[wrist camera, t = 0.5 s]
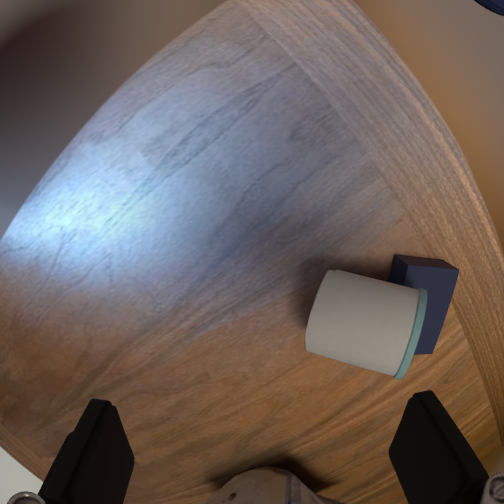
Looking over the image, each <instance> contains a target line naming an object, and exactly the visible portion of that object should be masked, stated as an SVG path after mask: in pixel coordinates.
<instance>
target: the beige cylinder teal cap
mask: <svg viewBox="0 0 504 504" xmlns="http://www.w3.org/2000/svg"><path fill="white" fill-rule="evenodd" d="M426 304H427V290H426V289H422V288H419V289H414V288H410V287H406V286H402V285H398V284H394V283H390V282H386V281H382V280H377V279H373V278H369V277H365V276H361V275H357V274H353V273H349V272H345V271H341V270H337V269H333V268H331V269H329V270H328V271H327V272H326V274H325V275H324V277H323V279H322V281H321V283H320V286H319V288H318V291H317V293H316V296H315V299H314V302H313V305H312V309H311V312H310V316H309V320H308V324H307V329H306V335H305V349H306V351H308V352H311V353H315V354H318V355H321V356H324V357H328V358H331V359H334V360H338V361H341V362H344V363H348V364H351V365H355V366H358V367H362V368H365V369H369V370H373V371H376V372H380V373H384V374H387V375H391V376H393V377H394V378H395V379H399V380H401V379H402V378H403V377H404V375H405V373H406V371H407V369H408V367H409V365H410V363H411V360H412V358H413V355H414V352H415V349H416V346H417V343H418V340H419V337H420V333H421V329H422V325H423V321H424V316H425V311H426Z"/></svg>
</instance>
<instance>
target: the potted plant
mask: <svg viewBox="0 0 504 504" xmlns="http://www.w3.org/2000/svg"><path fill="white" fill-rule="evenodd" d="M206 504H344V503H341V502H339V501H336V500H332V499H329V498H326V497H323V496H320V495H316V494H315V493H314V492H313V491H312V490H310V489H309V488H308V487H306V486H305V485H304V484H303V483H302V482H301V481H300V480H299V479H298V478H297V477H296V476H295V475H294V474H292V473H291V472H289V471H287V470H284V469H281V468H278V467H273V466H266V467H256V468H254V469H252V470H249V471H246V472H243V473H241V474H239V475H235V476H234V477H233V478H232V479H231V480H230V481H229V482H227V483H226V484H225V485H224V486H223V487H222V488H220V489H218V490H216V491H214V492H212V494H211V496H210V497H209V499H208V501H207V503H206Z"/></svg>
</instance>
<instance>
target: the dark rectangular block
mask: <svg viewBox="0 0 504 504" xmlns="http://www.w3.org/2000/svg"><path fill="white" fill-rule="evenodd" d="M458 273H459V269H457V268H456V267H454V266H452V265H451V264H449V263H447V262H445V261H444V260H437V259H428V258H419V257H411V256H402V255H394V259H393V263H392V268H391V272H390V277H389V281H388V282H390V283H394V284H398V285H402V286H406V287H410V288H414V289H419V288H422V289H426V290H427V304H426V311H425V316H424V321H423V325H422V329H421V333H420V337H419V340H418V343H417V346H416V349H415V352H414V355H418V354H432V353H433V350H434V348H435V345H436V342H437V340H438V337H439V334H440V331H441V329H442V326H443V323H444V320H445V317H446V314H447V311H448V308H449V304H450V301H451V298H452V295H453V291H454V288H455V284H456V281H457V277H458Z"/></svg>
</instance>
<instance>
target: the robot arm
mask: <svg viewBox="0 0 504 504" xmlns="http://www.w3.org/2000/svg"><path fill="white" fill-rule="evenodd" d="M389 457H390V460H391V462H392V465H393V467H394V469H395V472H396V474H397V476H398V479H399V481H400V484H401V486H402V488H403V491H404V493H405V496H406V498H407V501H408V503H409V504H504V472H500V473H496V474H494V475H492V476H491V477H489V476H488V473H487V472H486V470H485V469H484V467H483V465H482V464H481V462H480V461H479V459H478V458H477V456H476V454H475V453H474V451H473V450H472V448H471V447H470V445H469V444H468V442H467V441H466V439H465V438H464V436H463V435H462V433H461V432H460V430H459V429H458V427H457V426H456V424H455V423H454V421H453V420H452V418H451V417H450V415H449V414H448V412H447V411H446V410H445V408H444V407H443V405H442V404H441V402H440V401H439V400H438V398H437V397H436V395H435V394H434V393H433V392H432V391H431V390H428V391H423V392H418V393H415V394H414V395H413V397H412V398H410V399H409V400H408V403H407V406H406V408H405V411H404V414H403V416H402V419H401V421H400V424H399V427H398V429H397V431H396V434H395V436H394V439H393V441H392V443H391V446H390V448H389ZM133 467H134V455H133V452H132V450H131V447H130V445H129V442H128V440H127V437H126V434H125V431H124V429H123V426H122V423H121V420H120V417H119V414H118V411H117V409H116V407H115V406H112V404H111V402H110V401H107V400H100V399H94V398H93V399H91V400H90V402H89V404H88V405H87V407H86V409H85V411H84V413H83V415H82V416H81V418H80V420H79V422H78V424H77V426H76V428H75V430H74V431H73V432H71V433H70V434H69V435H68V436H67V437H66V439H65V441H64V443H63V445H62V447H61V449H60V451H59V453H58V455H57V457H56V458H55V460H54V462H53V464H52V466H51V468H50V470H49V472H48V474H47V476H46V478H45V480H44V482H43V485H42V487H41V489H40V491H39V493H38V495H37V494H35V493H32V492H20V493H17V494H15V495H14V496H12V497H11V498H10V499H9V501H8V503H7V504H123V501H124V498H125V494H126V491H127V487H128V484H129V481H130V477H131V474H132V471H133Z"/></svg>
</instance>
